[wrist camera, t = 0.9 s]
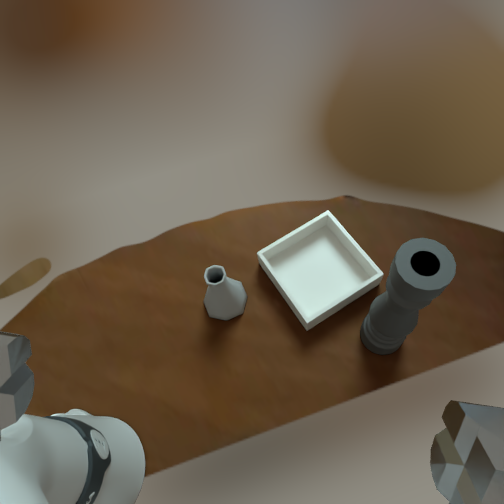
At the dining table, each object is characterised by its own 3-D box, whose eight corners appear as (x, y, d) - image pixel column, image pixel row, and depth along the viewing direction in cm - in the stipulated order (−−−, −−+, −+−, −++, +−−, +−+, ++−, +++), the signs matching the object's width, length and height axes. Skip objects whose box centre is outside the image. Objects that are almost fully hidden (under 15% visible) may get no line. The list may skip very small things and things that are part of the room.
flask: (249, 318, 66) (241, 296, 57) (204, 323, 66) (189, 301, 57) (246, 277, 69) (238, 249, 60) (203, 281, 70) (189, 255, 61)
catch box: (306, 331, 64) (307, 323, 60) (259, 263, 70) (256, 252, 67) (379, 284, 66) (383, 274, 63) (326, 222, 72) (328, 210, 69)
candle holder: (351, 332, 63) (378, 261, 41) (379, 307, 65) (421, 224, 42) (382, 363, 61) (429, 305, 39) (411, 336, 62) (472, 265, 40)
